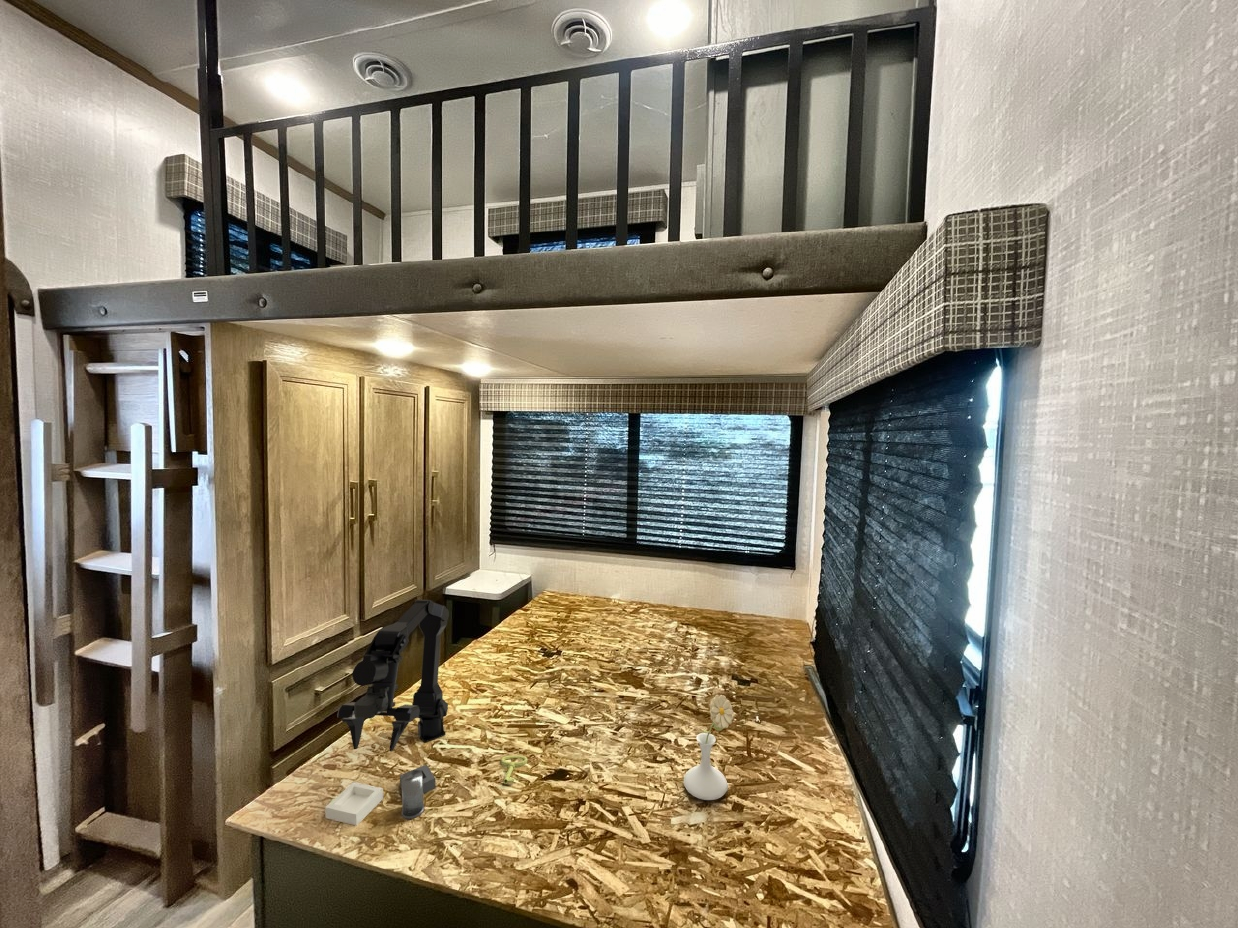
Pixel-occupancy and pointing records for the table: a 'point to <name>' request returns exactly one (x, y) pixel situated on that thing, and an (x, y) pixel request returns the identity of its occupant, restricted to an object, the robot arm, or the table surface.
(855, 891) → the table surface
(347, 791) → the tray
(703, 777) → the flower in vase
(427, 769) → the block
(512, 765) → the key
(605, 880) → the table surface
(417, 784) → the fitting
